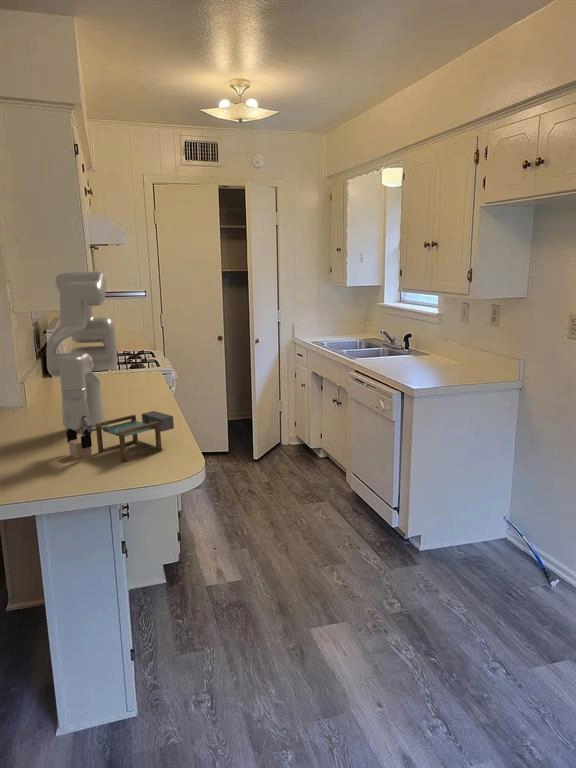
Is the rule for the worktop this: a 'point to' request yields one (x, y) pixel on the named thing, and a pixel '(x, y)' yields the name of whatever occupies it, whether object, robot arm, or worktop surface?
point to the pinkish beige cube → (78, 449)
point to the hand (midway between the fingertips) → (79, 444)
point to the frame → (135, 440)
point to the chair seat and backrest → (143, 423)
